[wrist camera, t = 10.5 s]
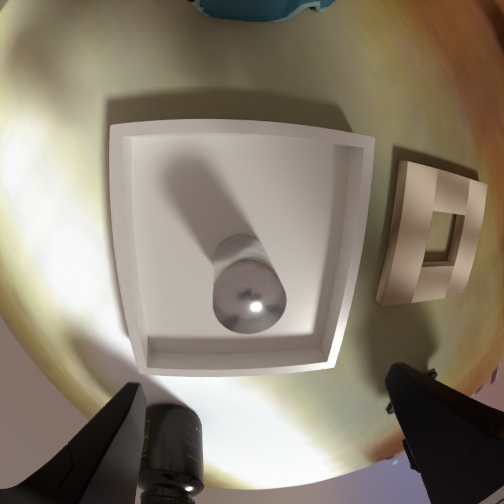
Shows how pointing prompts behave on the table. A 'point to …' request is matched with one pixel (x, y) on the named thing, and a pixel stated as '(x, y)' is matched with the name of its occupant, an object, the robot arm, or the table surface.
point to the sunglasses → (257, 9)
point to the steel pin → (246, 286)
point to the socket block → (417, 230)
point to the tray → (230, 223)
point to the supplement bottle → (171, 456)
